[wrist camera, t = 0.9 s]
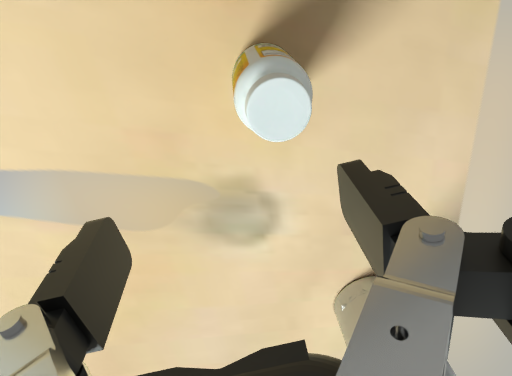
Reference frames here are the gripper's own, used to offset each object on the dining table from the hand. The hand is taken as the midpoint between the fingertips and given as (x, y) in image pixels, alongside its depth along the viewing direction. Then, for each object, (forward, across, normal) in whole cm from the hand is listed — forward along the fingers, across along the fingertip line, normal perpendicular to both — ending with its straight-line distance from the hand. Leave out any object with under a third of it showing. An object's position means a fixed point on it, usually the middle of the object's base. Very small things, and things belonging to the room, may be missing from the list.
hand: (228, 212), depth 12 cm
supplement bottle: (+19, -3, 0) cm, 20 cm away
